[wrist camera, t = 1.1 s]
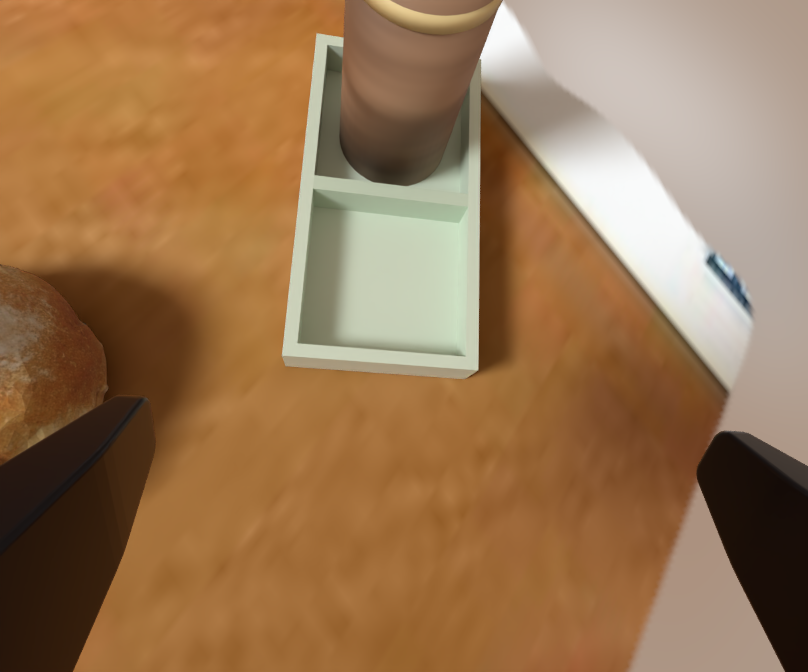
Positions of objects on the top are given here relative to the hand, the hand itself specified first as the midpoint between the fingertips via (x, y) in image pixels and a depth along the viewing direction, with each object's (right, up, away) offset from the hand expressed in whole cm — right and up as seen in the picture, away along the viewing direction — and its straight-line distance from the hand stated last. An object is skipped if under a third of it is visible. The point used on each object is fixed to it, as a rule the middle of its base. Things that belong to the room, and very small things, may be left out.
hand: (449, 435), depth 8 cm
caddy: (-1, +7, +15) cm, 17 cm away
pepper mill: (-1, +10, +15) cm, 19 cm away
